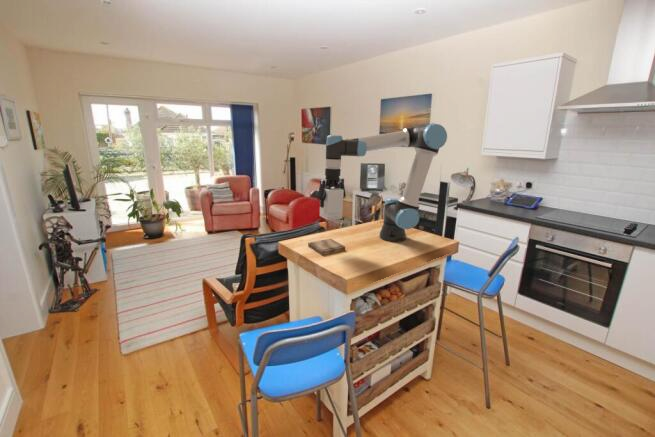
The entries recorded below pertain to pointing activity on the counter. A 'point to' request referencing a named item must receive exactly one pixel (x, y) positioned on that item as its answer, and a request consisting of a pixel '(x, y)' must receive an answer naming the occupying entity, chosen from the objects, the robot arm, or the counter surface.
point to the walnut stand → (326, 246)
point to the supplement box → (333, 204)
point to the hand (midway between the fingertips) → (331, 212)
